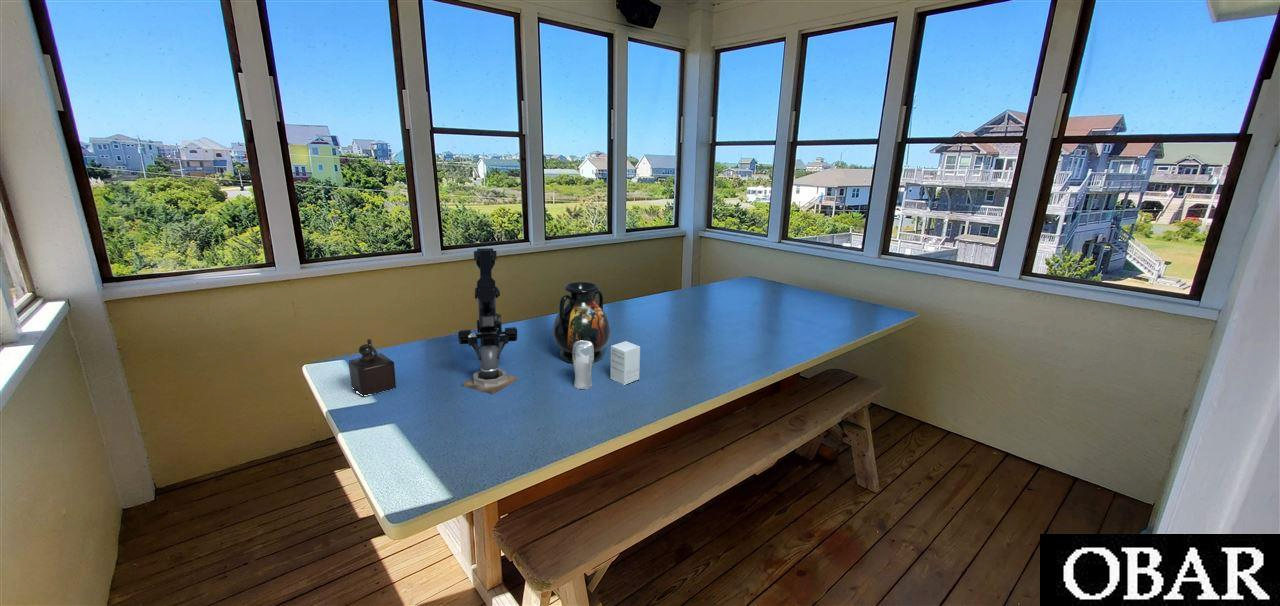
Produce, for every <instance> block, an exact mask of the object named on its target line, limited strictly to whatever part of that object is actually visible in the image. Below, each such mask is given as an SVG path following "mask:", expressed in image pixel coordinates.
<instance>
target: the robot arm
mask: <svg viewBox="0 0 1280 606" xmlns="http://www.w3.org/2000/svg"><path fill="white" fill-rule="evenodd" d="M497 257H498V255H497V250H494V248H492V247H491V248H485V247H482V248H476V250H473V261H475V264H476V266H477V268H478V270H479V279H478V280H477V281H476V287H474V299H475V300H477V305H478V319H477V320H476V328H477V332H472V330H471V329H460V330H459V331H458V332H457V337H458V344H459V345H468V346H469V347H472V349H473V350H474V351H475V354H476V356H477V358H478V361H480V347H482V346H485V345H495V346H497V347H498V360H500V359H501V355H502V352H503V349H504V347H505V346H506V344H507V345H508V344H509V342H516V341H518V328H517V327H515V326H511V327H504V331H502V329H503V328H502V326H503V324H502V315H501V313H497V307H496V305H497V304H496V303H497V302H496V301H497V299H498V298H499V297H500V296H501V293H500V292H501V290H500V289H499V287H498V286H496V280H495V279H494V278H493V277H492V275H493V274H492V271H493V269H494V268H495V266H496V261H497V260H498V259H497ZM478 340H480V344H479V341H478ZM479 345H480V346H479Z"/></svg>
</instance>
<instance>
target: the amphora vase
mask: <svg viewBox="0 0 1280 606" xmlns="http://www.w3.org/2000/svg"><path fill="white" fill-rule="evenodd" d="M563 288H564V290H565V292H568V293H569V294H568V295H567V294H566V295H563V296H561V298H560V300H559V305H558V306H559V307H558V309H559V311H558V312H557V315H556V316H555V319H554V323H553V327H552V337H553V340H554V342H555V345H556V346H557V347H558V348H559V349H560V351H559V356H560V358H561V359H562V360H563V361H565V362H567V363H570V364H571V363H572V364H573V357H572V354H573V343H574V342H576V341H581V340H586V341H591V342H592V343H593V348H594V361H593V363H595V362H597V361H600V359H602V357H603V356H604V350H603V349H604V348H605V347H606V345H607V344H608V343H609V340H610V337H611V326H610V321H609V318H608V316H607V314H606V312H605V311H604V295H603V292H602V291H601V290H600V286H599V285H598V284H597V283H593V282H588V281H587V282H584V281H578V282H569V283H567V284H565V285H564V287H563ZM596 295H598V303H597V302H596V300H595V298H596V297H595V296H596ZM567 299H568V301H567ZM566 301H567V302H566ZM565 302H566V304H565Z"/></svg>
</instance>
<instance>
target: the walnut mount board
mask: <svg viewBox="0 0 1280 606" xmlns="http://www.w3.org/2000/svg"><path fill="white" fill-rule="evenodd" d="M472 375H473V376H472V377H471V378H469V379H468V380H466V381H464V382H462V387H465V386H466V388H469V389H473V390H475V391H476V390H477V391H480V392H484V393H488V394H491V395H494V394H496V393H497V392H499V391H501V390H503V389H504V388H505V387H507V386H509V385H511V384H513V383H514V382H516V381H517V380H518V376H514V375H509V374H507V370H505V369H501V368H499V377H498V378H496V379H489V380H485V379H482V378H481V369H480V370H477V371H476V372H474V373H472Z"/></svg>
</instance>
